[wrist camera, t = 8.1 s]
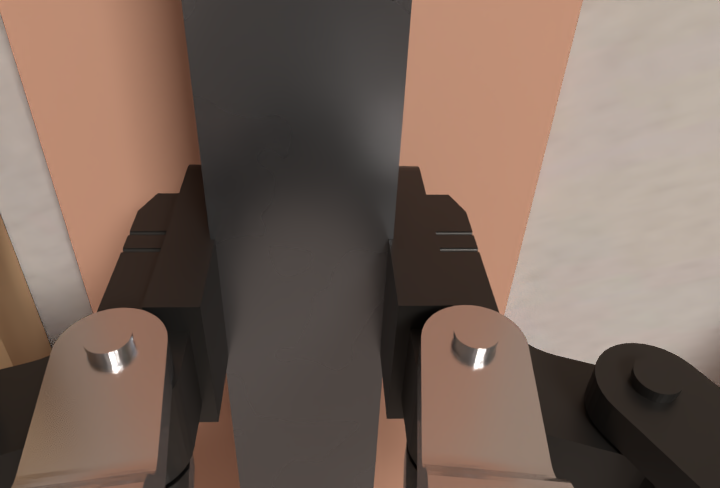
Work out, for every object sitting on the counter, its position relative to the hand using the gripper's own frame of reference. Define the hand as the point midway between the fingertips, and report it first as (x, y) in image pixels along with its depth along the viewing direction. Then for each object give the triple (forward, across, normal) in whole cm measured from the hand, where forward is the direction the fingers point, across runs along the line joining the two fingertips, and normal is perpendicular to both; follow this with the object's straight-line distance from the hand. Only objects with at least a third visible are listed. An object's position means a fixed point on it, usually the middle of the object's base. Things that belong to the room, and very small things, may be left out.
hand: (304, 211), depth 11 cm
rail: (0, 0, 0) cm, 0 cm away
